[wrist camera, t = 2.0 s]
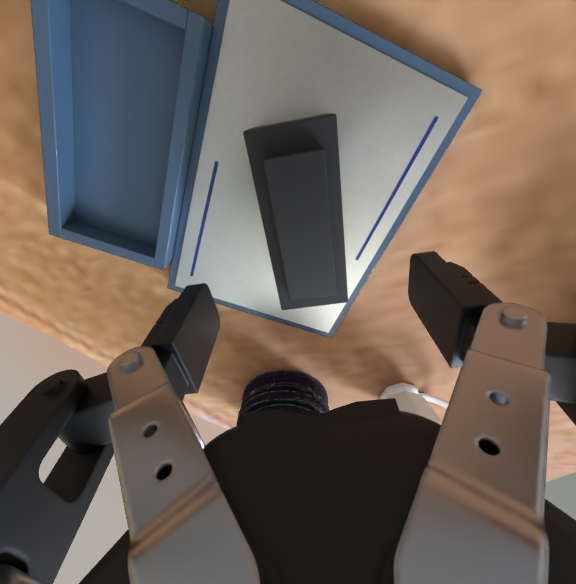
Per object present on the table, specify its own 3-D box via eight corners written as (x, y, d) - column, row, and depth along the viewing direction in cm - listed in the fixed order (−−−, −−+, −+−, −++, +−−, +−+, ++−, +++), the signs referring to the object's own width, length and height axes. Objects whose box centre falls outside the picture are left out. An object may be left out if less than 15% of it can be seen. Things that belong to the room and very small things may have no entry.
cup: (370, 374, 30) (393, 451, 23) (467, 372, 30) (519, 449, 23) (364, 415, 34) (382, 491, 27) (450, 413, 34) (491, 491, 27)
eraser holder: (65, -43, 14) (24, -71, 12) (217, 30, 16) (204, 17, 14) (73, 222, 22) (48, 234, 20) (176, 255, 23) (163, 270, 21)
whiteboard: (229, -38, 14) (224, -48, 13) (474, 91, 17) (484, 90, 16) (171, 282, 24) (166, 289, 24) (330, 331, 27) (331, 339, 26)
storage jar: (312, 359, 29) (327, 549, 17) (339, 415, 34) (366, 594, 21) (226, 382, 31) (180, 566, 19) (262, 431, 36) (246, 604, 23)
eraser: (252, 127, 17) (239, 132, 13) (328, 112, 17) (339, 113, 13) (283, 282, 23) (281, 319, 19) (340, 274, 23) (350, 310, 19)
